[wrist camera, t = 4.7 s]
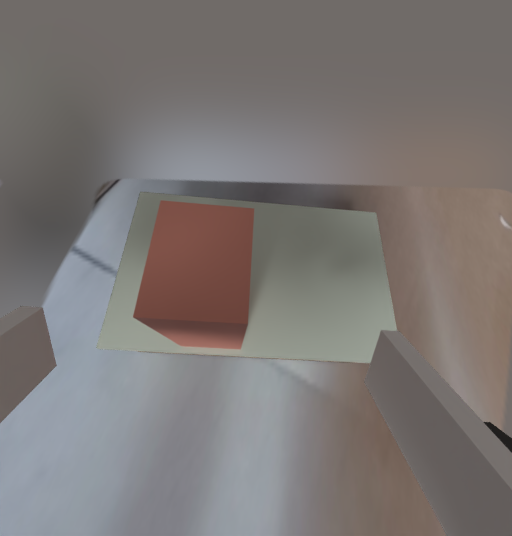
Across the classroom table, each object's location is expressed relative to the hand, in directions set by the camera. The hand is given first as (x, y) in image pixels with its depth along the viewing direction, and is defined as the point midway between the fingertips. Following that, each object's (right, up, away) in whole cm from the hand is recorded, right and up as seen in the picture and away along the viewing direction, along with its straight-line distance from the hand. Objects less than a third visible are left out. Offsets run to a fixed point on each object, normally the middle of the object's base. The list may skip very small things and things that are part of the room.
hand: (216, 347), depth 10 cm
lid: (+2, +3, +10) cm, 11 cm away
